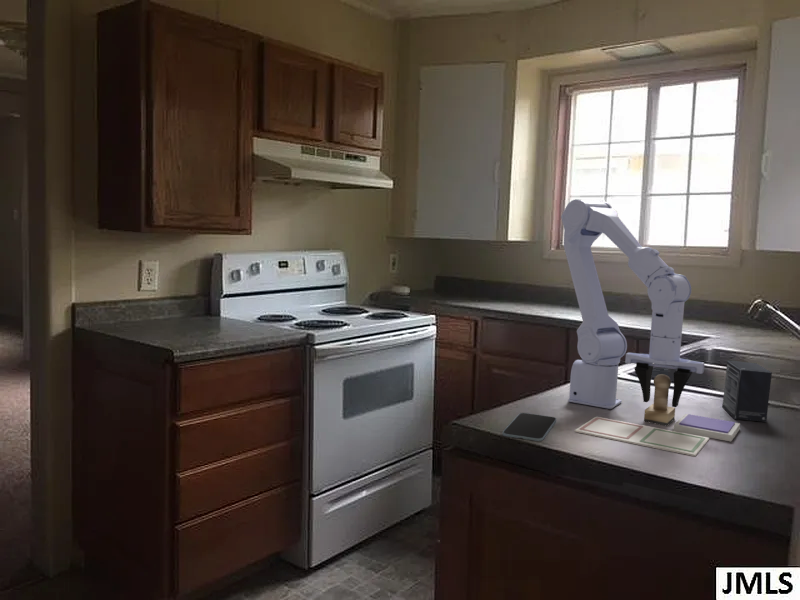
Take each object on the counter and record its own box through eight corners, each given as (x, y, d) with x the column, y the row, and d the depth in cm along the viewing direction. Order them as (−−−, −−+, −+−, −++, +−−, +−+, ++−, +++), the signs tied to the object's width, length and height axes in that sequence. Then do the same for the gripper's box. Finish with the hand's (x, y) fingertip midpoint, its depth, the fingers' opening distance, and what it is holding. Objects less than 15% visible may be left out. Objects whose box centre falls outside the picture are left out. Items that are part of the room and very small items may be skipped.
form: (574, 431, 128) (574, 429, 127) (595, 417, 137) (596, 415, 137) (695, 456, 116) (695, 454, 116) (709, 439, 126) (709, 437, 126)
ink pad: (673, 430, 130) (674, 423, 130) (684, 419, 138) (685, 412, 138) (731, 441, 125) (731, 433, 125) (739, 429, 133) (740, 422, 132)
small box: (769, 423, 138) (774, 371, 137) (734, 420, 140) (739, 369, 138) (753, 409, 149) (758, 361, 147) (721, 406, 150) (725, 359, 149)
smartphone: (500, 433, 124) (520, 412, 137) (500, 438, 124) (519, 416, 138) (542, 439, 121) (557, 417, 135) (541, 444, 121) (557, 422, 135)
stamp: (643, 421, 136) (647, 375, 135) (651, 415, 141) (655, 370, 140) (667, 426, 134) (670, 378, 133) (674, 419, 139) (678, 373, 138)
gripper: (622, 333, 136) (617, 401, 138) (701, 343, 128) (695, 414, 130) (632, 330, 142) (628, 394, 144) (708, 338, 134) (702, 406, 135)
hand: (660, 403), depth 137 cm, fingers open, 5 cm apart
